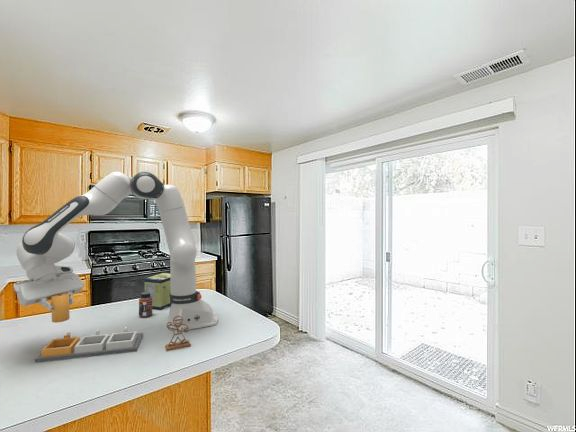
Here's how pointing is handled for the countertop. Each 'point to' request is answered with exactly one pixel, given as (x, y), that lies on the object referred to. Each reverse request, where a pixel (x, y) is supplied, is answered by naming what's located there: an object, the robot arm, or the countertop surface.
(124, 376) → the countertop surface
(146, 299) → the supplement bottle
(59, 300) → the cap
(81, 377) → the countertop surface
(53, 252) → the robot arm
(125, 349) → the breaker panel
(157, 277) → the protein box
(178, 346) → the gingerbread man figurine
